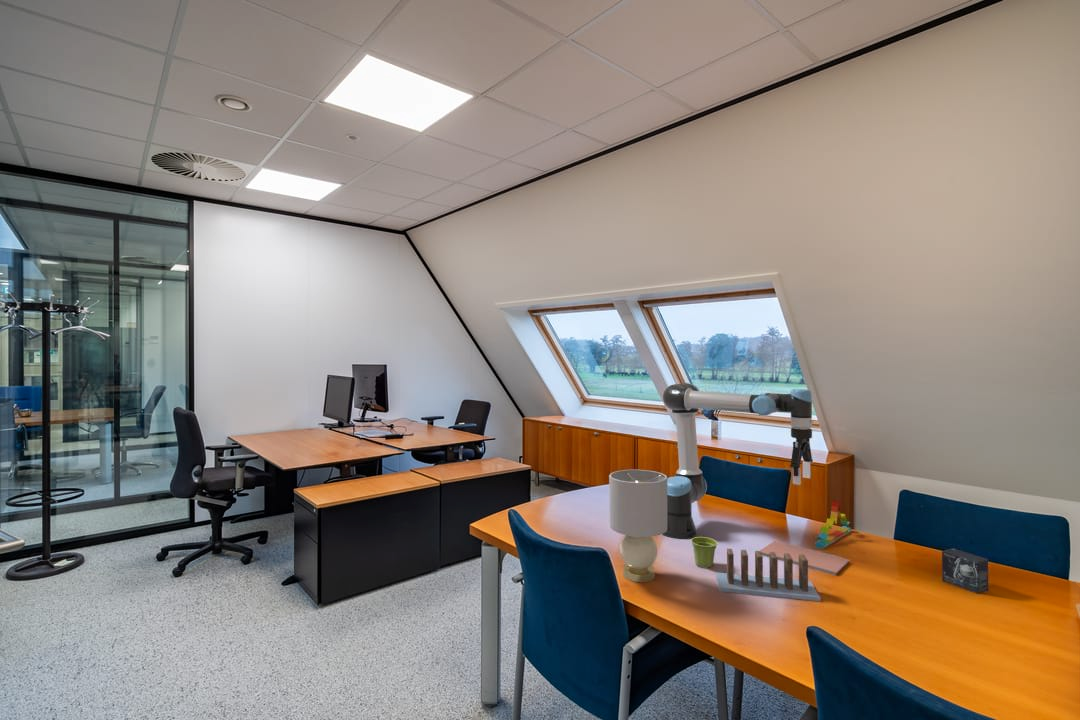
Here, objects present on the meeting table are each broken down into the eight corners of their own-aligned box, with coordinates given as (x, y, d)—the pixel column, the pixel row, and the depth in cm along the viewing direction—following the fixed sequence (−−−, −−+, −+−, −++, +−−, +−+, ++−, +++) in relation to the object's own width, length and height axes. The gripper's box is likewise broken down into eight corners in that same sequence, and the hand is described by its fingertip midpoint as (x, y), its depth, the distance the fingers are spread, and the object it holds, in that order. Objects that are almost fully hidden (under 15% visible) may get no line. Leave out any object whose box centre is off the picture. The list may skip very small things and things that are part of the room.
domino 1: (728, 583, 169) (728, 553, 169) (727, 577, 174) (726, 548, 174) (733, 584, 169) (733, 554, 169) (732, 577, 174) (731, 548, 174)
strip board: (719, 591, 167) (719, 587, 167) (716, 575, 179) (716, 572, 178) (820, 601, 159) (820, 597, 159) (810, 584, 171) (810, 581, 171)
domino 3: (757, 586, 167) (757, 556, 167) (755, 580, 172) (755, 550, 172) (762, 587, 167) (762, 556, 167) (760, 580, 172) (760, 551, 172)
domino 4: (772, 588, 166) (772, 557, 166) (769, 581, 171) (769, 551, 171) (777, 588, 166) (777, 558, 166) (774, 581, 171) (774, 552, 170)
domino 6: (802, 591, 164) (802, 560, 164) (798, 584, 169) (798, 554, 169) (808, 591, 163) (807, 560, 163) (804, 584, 168) (803, 554, 168)
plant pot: (717, 561, 191) (717, 538, 191) (717, 571, 182) (717, 547, 182) (691, 558, 194) (691, 535, 194) (690, 568, 185) (690, 544, 185)
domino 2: (743, 585, 168) (742, 555, 168) (741, 578, 173) (740, 549, 173) (748, 585, 168) (748, 555, 168) (746, 579, 173) (745, 550, 173)
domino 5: (787, 589, 165) (787, 558, 165) (784, 582, 170) (783, 553, 170) (792, 590, 165) (792, 559, 165) (789, 583, 169) (789, 553, 169)
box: (941, 581, 173) (940, 550, 173) (952, 577, 176) (952, 547, 175) (978, 594, 163) (978, 562, 163) (989, 590, 166) (989, 558, 166)
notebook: (850, 563, 189) (850, 558, 189) (836, 577, 178) (836, 571, 178) (775, 544, 209) (775, 539, 209) (758, 555, 197) (758, 550, 197)
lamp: (631, 559, 194) (631, 467, 193) (679, 575, 179) (678, 475, 179) (598, 575, 179) (597, 476, 179) (646, 594, 165) (646, 486, 165)
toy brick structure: (823, 549, 202) (823, 512, 202) (814, 547, 204) (814, 510, 204) (851, 532, 222) (851, 498, 221) (843, 530, 224) (843, 496, 224)
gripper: (802, 432, 191) (802, 488, 191) (820, 425, 210) (820, 476, 210) (781, 430, 196) (781, 485, 196) (800, 423, 215) (800, 473, 215)
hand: (801, 481), depth 203 cm, fingers open, 13 cm apart
